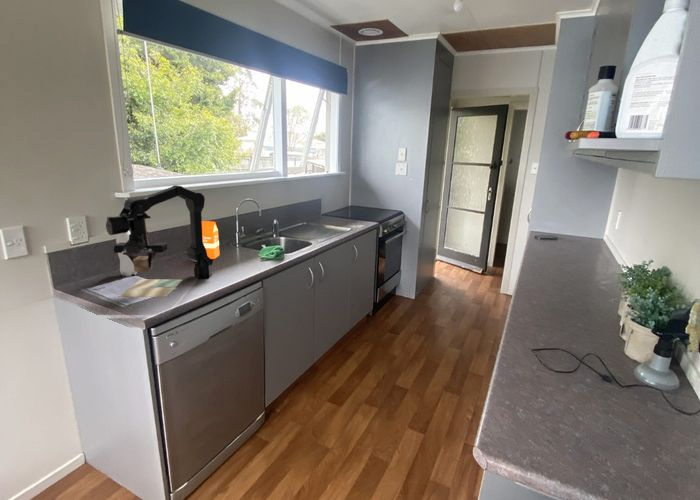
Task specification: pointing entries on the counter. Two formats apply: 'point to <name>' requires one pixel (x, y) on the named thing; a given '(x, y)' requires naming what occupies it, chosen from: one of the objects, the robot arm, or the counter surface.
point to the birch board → (151, 288)
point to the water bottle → (125, 257)
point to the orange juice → (210, 239)
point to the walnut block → (141, 264)
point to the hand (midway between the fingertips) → (143, 267)
